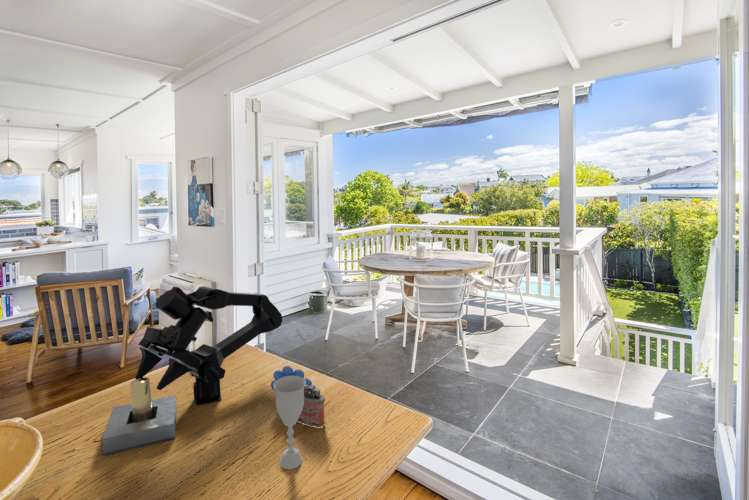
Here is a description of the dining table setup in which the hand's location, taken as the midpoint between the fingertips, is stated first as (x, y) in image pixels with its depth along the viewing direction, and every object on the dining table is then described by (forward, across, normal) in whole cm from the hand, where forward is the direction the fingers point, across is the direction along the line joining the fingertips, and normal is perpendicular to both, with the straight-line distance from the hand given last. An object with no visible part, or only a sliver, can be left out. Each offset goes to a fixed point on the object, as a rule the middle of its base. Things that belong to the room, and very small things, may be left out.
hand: (147, 384), depth 92 cm
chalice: (+2, +38, +14) cm, 41 cm away
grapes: (-9, +24, +25) cm, 36 cm away
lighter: (-8, +33, +24) cm, 41 cm away
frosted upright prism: (+8, 0, +6) cm, 11 cm away
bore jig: (+9, 0, +7) cm, 11 cm away
